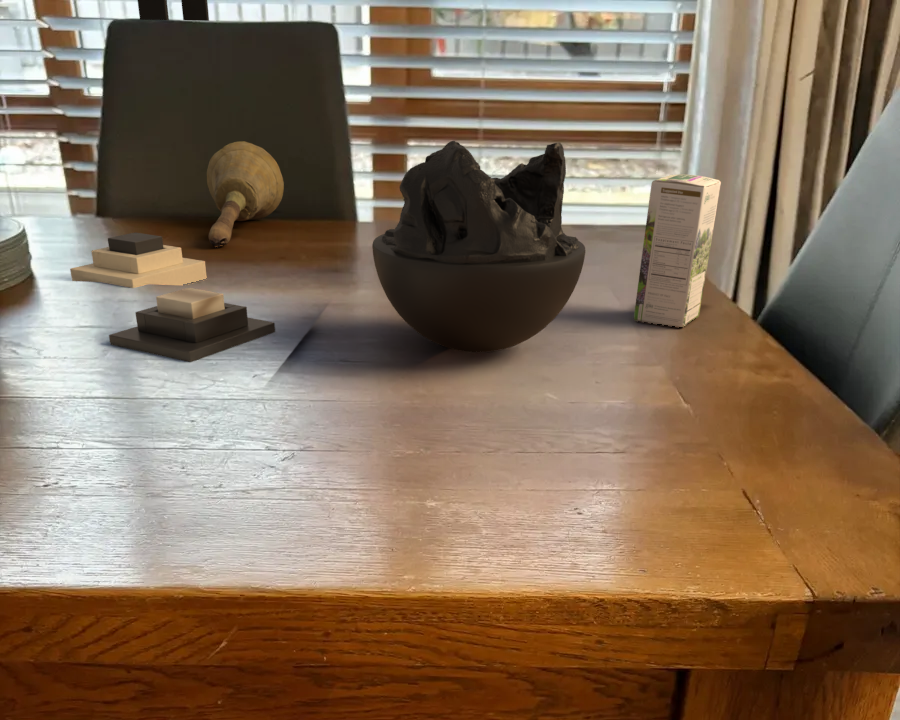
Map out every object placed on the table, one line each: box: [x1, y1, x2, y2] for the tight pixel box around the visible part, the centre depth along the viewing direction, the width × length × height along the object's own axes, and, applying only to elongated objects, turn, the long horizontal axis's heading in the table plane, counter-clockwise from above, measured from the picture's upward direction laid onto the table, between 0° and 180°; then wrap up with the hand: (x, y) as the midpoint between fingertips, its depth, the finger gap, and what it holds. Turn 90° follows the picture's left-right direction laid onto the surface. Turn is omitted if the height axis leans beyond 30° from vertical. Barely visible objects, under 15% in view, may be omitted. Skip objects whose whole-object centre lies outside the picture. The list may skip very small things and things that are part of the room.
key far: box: [107, 232, 164, 255], centre depth 115 cm, size 4×4×2 cm
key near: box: [155, 287, 225, 319], centre depth 92 cm, size 4×4×2 cm
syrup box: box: [633, 173, 722, 328], centre depth 104 cm, size 6×6×14 cm
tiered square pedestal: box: [108, 302, 276, 363], centre depth 93 cm, size 12×10×4 cm
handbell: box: [206, 140, 285, 247], centre depth 143 cm, size 12×12×25 cm
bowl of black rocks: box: [371, 140, 586, 353], centre depth 92 cm, size 20×20×19 cm
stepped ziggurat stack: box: [69, 244, 208, 289], centre depth 117 cm, size 12×10×4 cm
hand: (176, 21), depth 103 cm, fingers open, 13 cm apart
